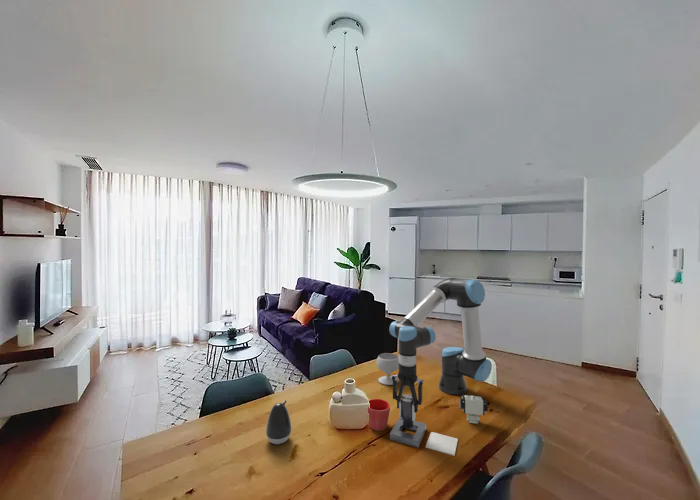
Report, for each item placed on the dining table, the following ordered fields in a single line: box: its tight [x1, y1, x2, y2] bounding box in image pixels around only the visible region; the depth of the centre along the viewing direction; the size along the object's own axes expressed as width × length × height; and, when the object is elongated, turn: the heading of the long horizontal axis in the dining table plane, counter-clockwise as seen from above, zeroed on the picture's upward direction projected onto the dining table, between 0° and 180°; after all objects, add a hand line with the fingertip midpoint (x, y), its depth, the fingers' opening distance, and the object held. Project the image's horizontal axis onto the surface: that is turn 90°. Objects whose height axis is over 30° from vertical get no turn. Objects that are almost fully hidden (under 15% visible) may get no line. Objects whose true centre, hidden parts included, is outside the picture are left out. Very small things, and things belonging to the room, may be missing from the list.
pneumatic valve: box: [458, 394, 489, 425], centre depth 141 cm, size 6×12×12 cm, turn 78°
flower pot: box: [368, 398, 391, 432], centre depth 137 cm, size 11×11×10 cm
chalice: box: [376, 352, 399, 386], centre depth 183 cm, size 14×14×15 cm
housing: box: [389, 416, 427, 448], centre depth 131 cm, size 14×12×2 cm
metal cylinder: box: [401, 394, 414, 430], centre depth 131 cm, size 5×5×12 cm
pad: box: [425, 431, 459, 457], centre depth 125 cm, size 11×11×1 cm
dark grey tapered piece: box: [265, 399, 292, 445], centre depth 126 cm, size 10×10×15 cm
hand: (407, 417), depth 131 cm, fingers closed on metal cylinder, 5 cm apart
